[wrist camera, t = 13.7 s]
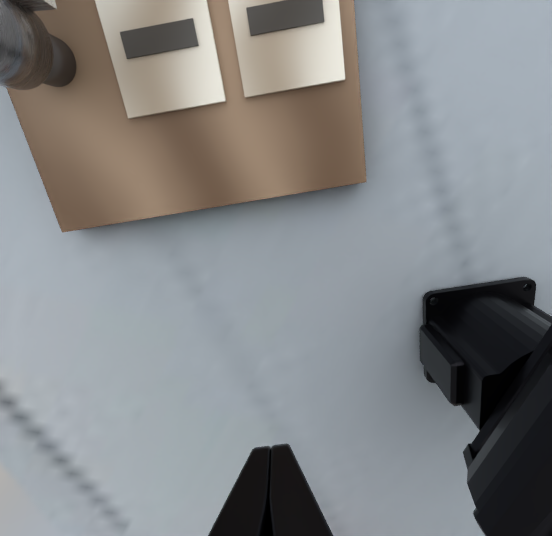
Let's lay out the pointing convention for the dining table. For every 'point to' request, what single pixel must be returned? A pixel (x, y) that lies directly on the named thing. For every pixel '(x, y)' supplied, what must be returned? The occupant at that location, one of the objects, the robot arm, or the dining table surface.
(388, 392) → the dining table surface
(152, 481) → the dining table surface
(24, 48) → the swing bar
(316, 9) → the label board
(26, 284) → the dining table surface
